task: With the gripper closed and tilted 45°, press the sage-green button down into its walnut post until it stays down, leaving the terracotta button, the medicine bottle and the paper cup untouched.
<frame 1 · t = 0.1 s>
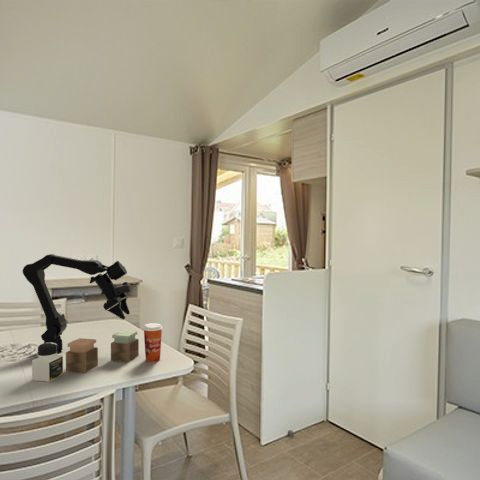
hand: (126, 316, 165), 15 cm above the table, tool tilted 35°, fingers open, 9 cm apart
sage button: (124, 341, 155), point 7 cm above the table, slide at 0.0 cm
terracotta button: (82, 350, 144), point 7 cm above the table, slide at 0.0 cm
paper cup: (153, 360, 154), on the table
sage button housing: (125, 357, 156), on the table
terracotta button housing: (82, 368, 144), on the table
medicine bottle: (47, 378, 135), on the table
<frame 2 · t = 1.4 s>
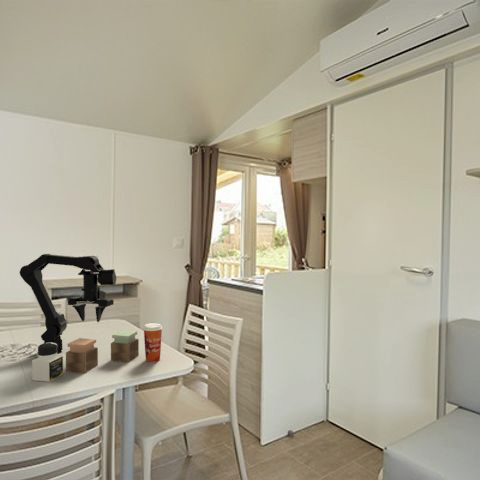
hand: (90, 321, 163), 13 cm above the table, tool pointing down, fingers open, 7 cm apart
nothing on the table moved.
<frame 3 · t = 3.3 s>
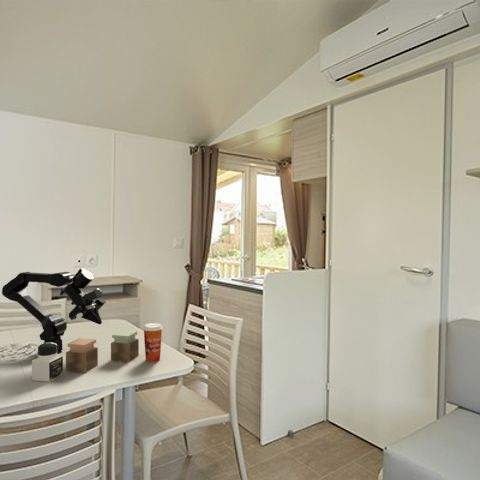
hand: (100, 323, 158), 13 cm above the table, tool tilted 45°, fingers closed
nothing on the table moved.
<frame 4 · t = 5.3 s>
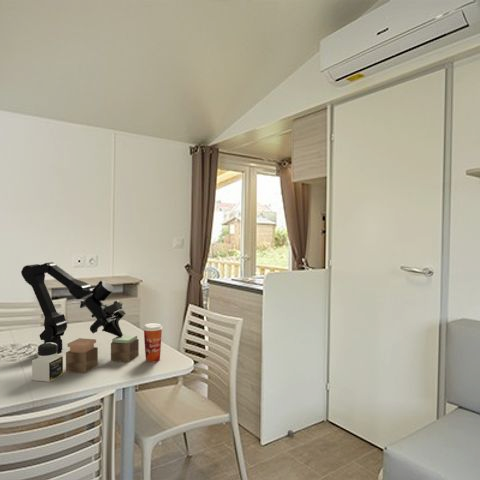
hand: (121, 336, 156), 9 cm above the table, tool tilted 45°, fingers closed, pressing on sage button
sage button: (124, 346, 155), point 5 cm above the table, slide at 1.7 cm, touching gripper
everything else where it was.
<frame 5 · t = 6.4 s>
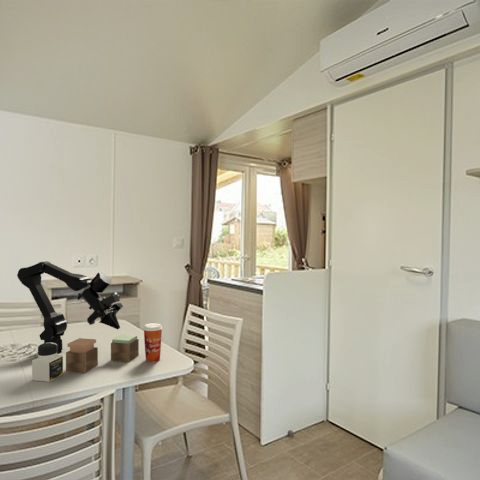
hand: (119, 328, 156), 12 cm above the table, tool tilted 45°, fingers closed
sage button: (124, 346, 155), point 5 cm above the table, slide at 1.8 cm
everything else where it was.
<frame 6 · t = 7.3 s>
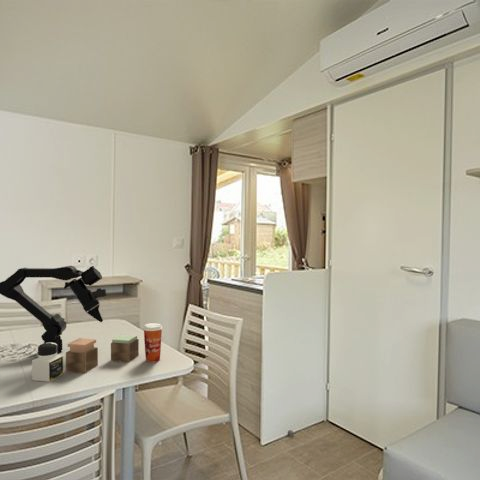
hand: (101, 321, 164), 13 cm above the table, tool tilted 35°, fingers closed
nothing on the table moved.
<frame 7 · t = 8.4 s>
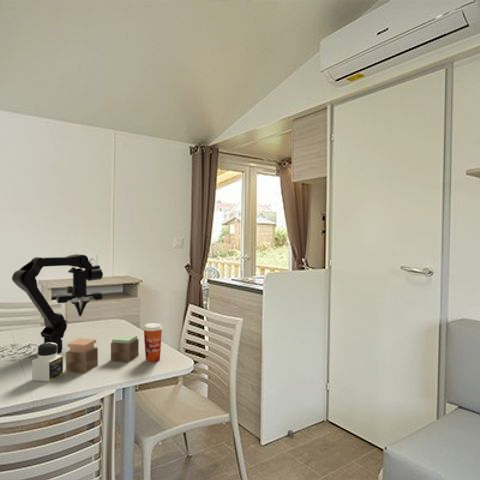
hand: (80, 316, 173), 13 cm above the table, tool pointing down, fingers closed
nothing on the table moved.
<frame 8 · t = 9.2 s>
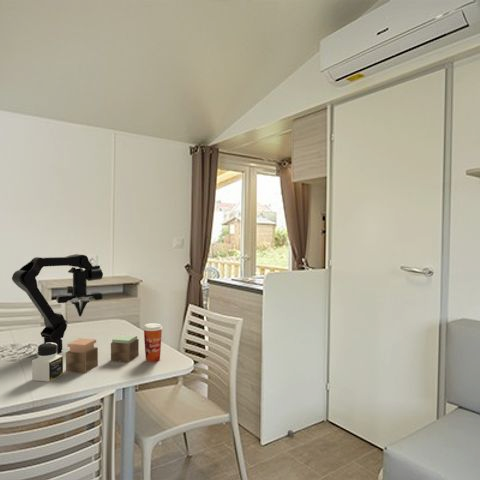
hand: (80, 316, 173), 13 cm above the table, tool pointing down, fingers closed
nothing on the table moved.
at the end: sage button slide at 1.8 cm; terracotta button slide at 0.0 cm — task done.
